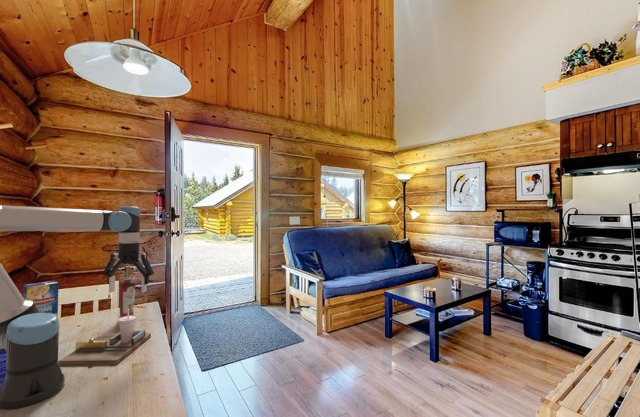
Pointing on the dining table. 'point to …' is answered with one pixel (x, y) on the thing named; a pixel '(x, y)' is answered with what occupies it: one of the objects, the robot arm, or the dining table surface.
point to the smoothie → (126, 327)
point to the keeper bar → (91, 344)
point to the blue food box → (43, 296)
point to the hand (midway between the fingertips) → (128, 291)
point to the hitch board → (102, 352)
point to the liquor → (127, 294)
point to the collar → (136, 337)
